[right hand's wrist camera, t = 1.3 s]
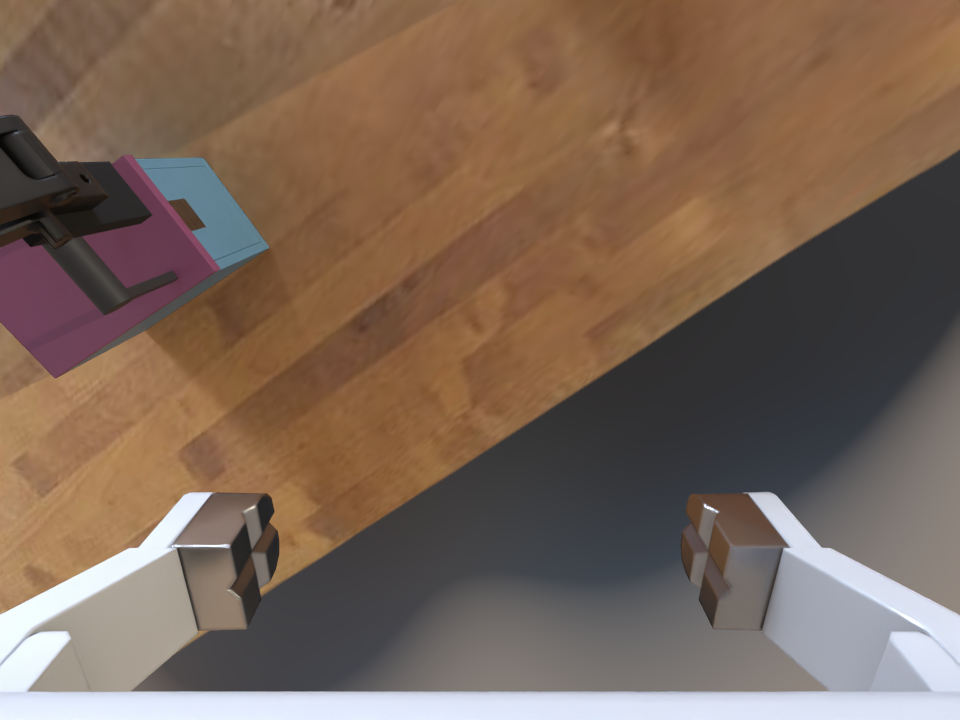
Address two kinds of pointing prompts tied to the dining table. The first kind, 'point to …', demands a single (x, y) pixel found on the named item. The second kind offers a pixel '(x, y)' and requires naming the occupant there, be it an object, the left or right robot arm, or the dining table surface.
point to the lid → (99, 280)
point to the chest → (199, 226)
